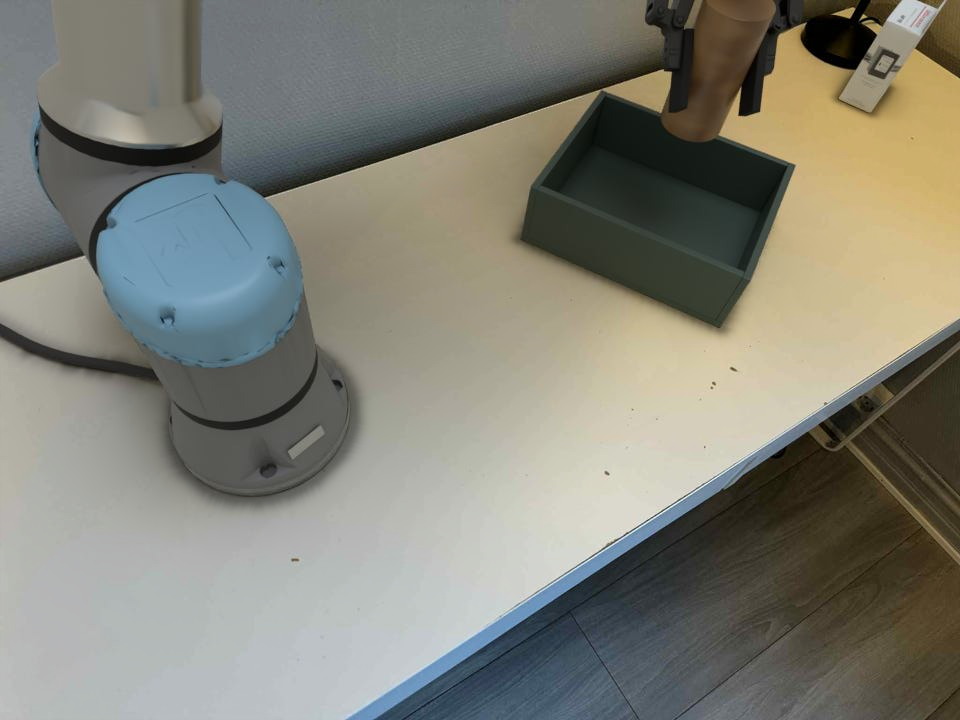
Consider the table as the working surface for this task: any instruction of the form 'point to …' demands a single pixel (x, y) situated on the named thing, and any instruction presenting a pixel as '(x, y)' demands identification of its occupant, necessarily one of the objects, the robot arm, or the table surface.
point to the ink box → (888, 53)
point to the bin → (657, 207)
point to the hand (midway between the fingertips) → (713, 111)
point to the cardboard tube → (718, 64)
